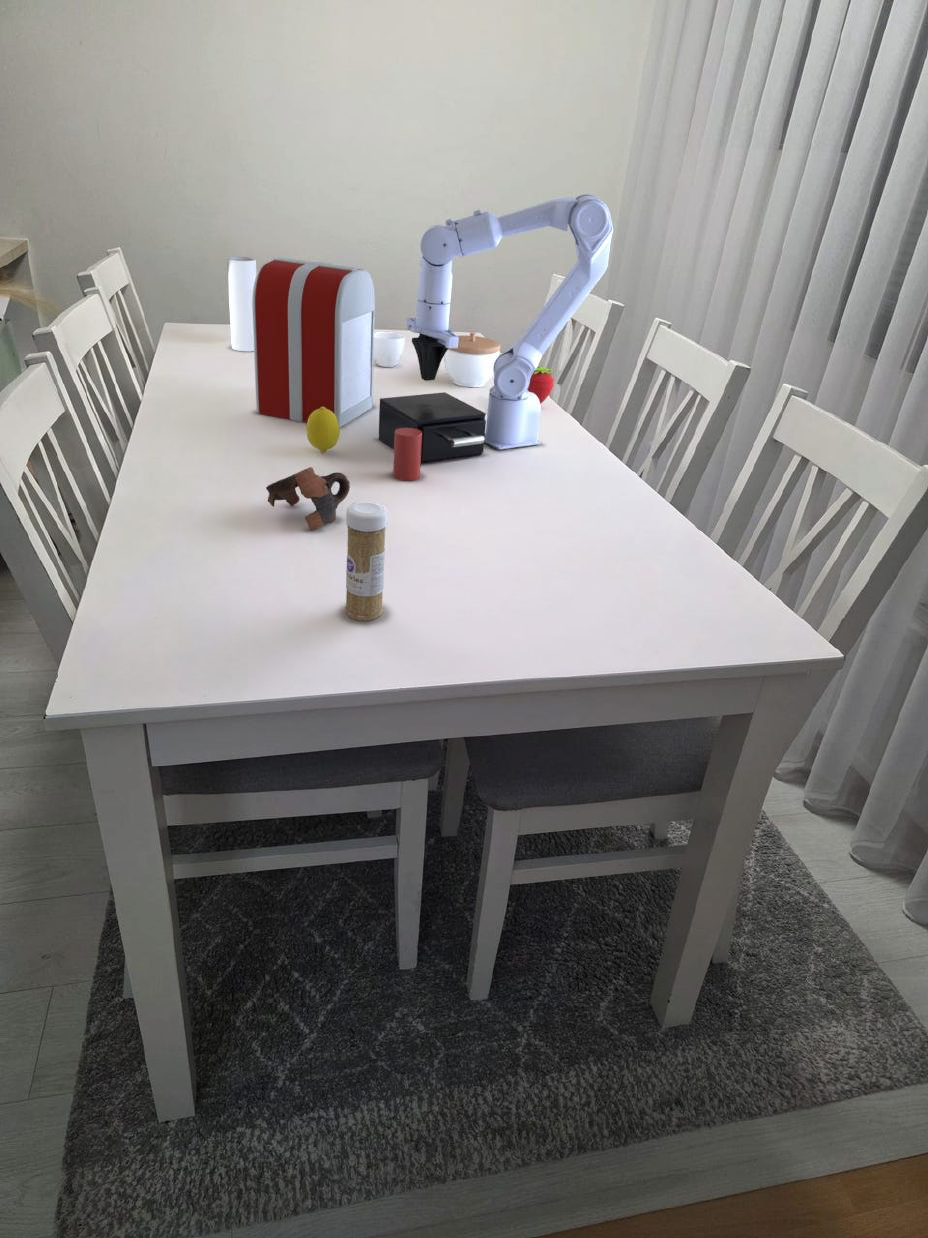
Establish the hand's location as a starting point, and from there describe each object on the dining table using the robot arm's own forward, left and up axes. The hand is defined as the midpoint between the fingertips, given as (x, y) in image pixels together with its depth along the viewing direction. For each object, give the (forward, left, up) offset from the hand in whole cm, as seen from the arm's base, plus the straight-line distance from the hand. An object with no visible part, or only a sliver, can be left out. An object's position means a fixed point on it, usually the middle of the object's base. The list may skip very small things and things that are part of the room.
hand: (428, 379), depth 159 cm
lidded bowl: (-28, -29, -11) cm, 42 cm away
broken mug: (+35, +26, -11) cm, 45 cm away
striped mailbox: (+13, -21, -11) cm, 27 cm away
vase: (+6, -71, -11) cm, 72 cm away
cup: (-18, -48, -7) cm, 51 cm away
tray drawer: (+3, +10, -9) cm, 14 cm away
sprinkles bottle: (+41, +55, -11) cm, 69 cm away
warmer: (+3, +6, -10) cm, 12 cm away
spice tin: (+14, +17, -10) cm, 24 cm away
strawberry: (-32, -8, -11) cm, 35 cm away
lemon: (+22, +2, -11) cm, 24 cm away
